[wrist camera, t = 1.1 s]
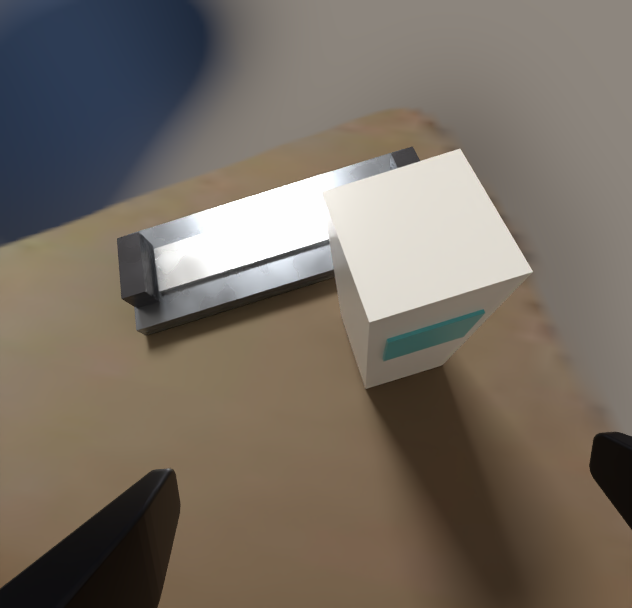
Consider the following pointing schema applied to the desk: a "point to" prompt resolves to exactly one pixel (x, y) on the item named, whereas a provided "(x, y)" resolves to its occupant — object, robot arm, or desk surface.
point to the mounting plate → (236, 250)
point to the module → (418, 264)
